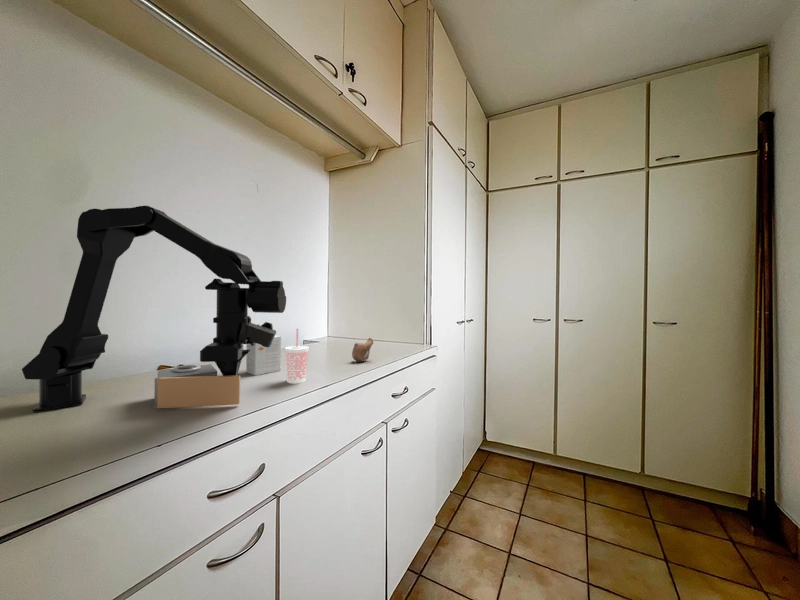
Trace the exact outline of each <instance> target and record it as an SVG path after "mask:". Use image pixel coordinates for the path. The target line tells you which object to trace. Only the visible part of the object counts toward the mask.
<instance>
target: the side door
mask: <svg viewBox="0 0 800 600" xmlns="http://www.w3.org/2000/svg"><path fill="white" fill-rule="evenodd" d="M153 402H154V409H167V408H168V409H169V408H170V409H174V408H186V407H187V408H191V407H192V408H193V407H210V406H211V407H213V406H215V407H216V406H235V405H237V406H238V405H240V404H241V374H238V375H231V376H223V375H217V376H197V377H163V378H158V377H154V401H153Z"/></svg>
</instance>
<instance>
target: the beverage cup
mask: <svg viewBox="0 0 800 600" xmlns="http://www.w3.org/2000/svg"><path fill="white" fill-rule="evenodd" d="M295 332H296V334H295V335H296V336H295V338H296V341H295V345H289V346H286V347H284V352H285V358H286V359H285V361H286V381H287V383H289V384H294V385H295V384H301V383H305V382H306V377H307V367H308V366H307V365H308V355H309V354H308V352H309V348H310V347H309V346H307V345H299V328H296V331H295ZM304 381H305V382H304Z"/></svg>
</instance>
